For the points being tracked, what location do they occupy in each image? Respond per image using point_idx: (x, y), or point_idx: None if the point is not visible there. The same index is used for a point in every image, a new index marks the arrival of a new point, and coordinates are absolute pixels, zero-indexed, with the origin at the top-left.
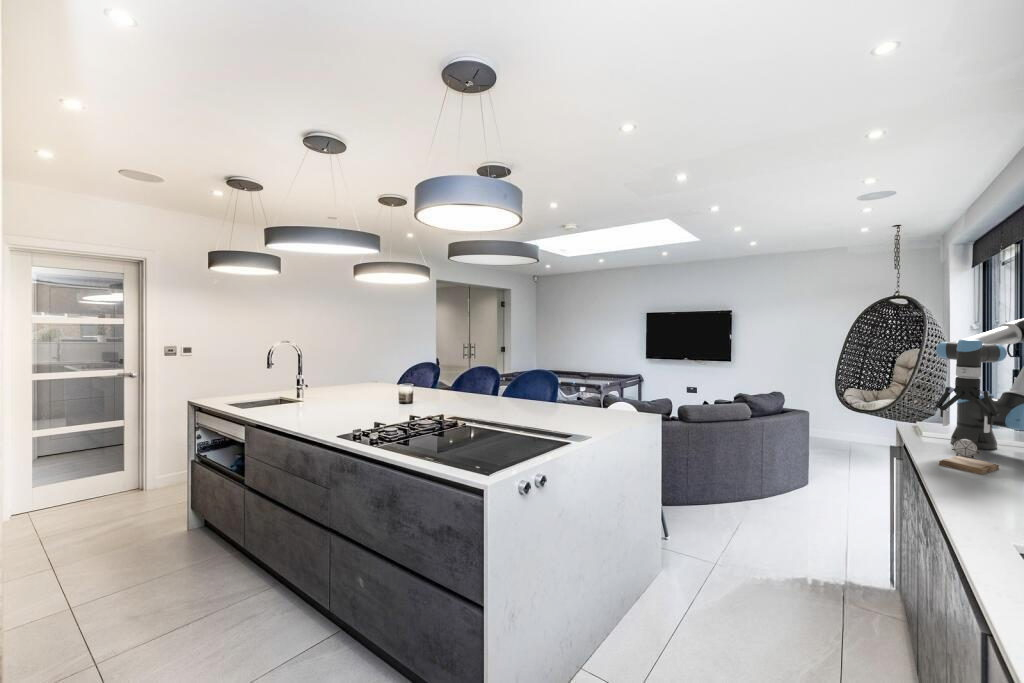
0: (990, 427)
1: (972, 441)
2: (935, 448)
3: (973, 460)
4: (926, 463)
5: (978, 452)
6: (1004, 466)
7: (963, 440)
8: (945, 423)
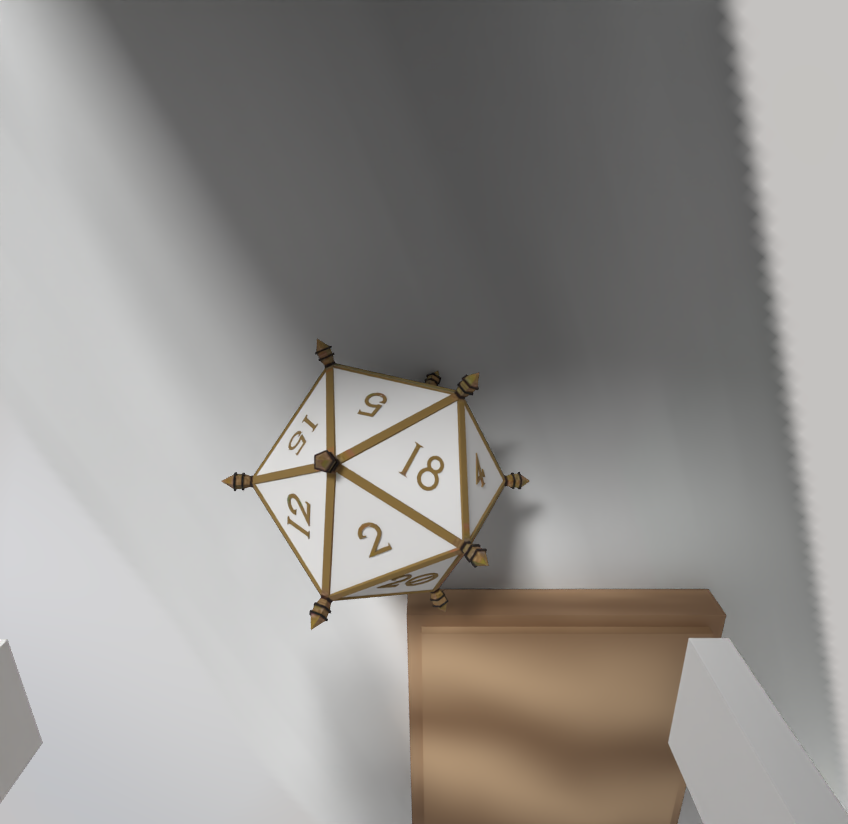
0: None
1: (462, 551)
2: (37, 302)
3: (561, 675)
4: (355, 819)
5: (519, 486)
6: (717, 459)
7: (375, 587)
8: (3, 768)
